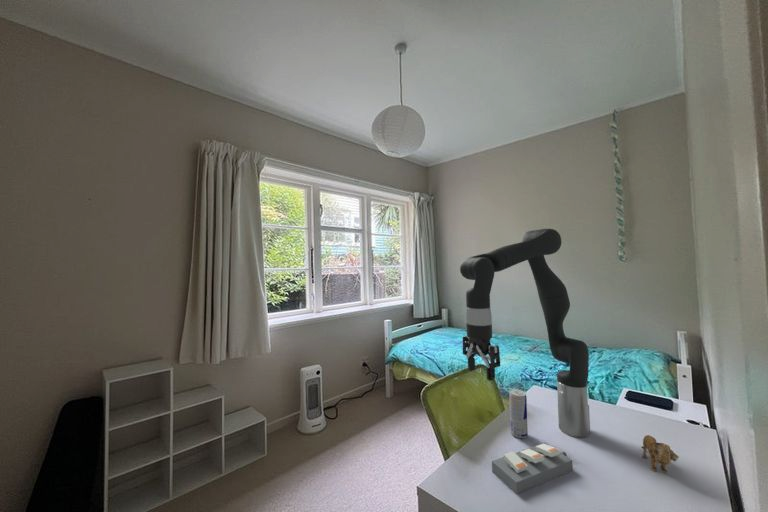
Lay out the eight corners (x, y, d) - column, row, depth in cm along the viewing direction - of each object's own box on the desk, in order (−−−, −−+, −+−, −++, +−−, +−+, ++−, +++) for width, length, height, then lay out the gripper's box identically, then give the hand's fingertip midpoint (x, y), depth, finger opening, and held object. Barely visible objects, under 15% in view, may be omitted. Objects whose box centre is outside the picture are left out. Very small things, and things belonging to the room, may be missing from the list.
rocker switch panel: (551, 449, 93) (551, 440, 94) (579, 467, 85) (579, 457, 85) (492, 471, 84) (491, 461, 84) (516, 493, 76) (516, 482, 76)
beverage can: (529, 440, 99) (528, 396, 99) (512, 438, 100) (511, 395, 100) (525, 430, 104) (523, 389, 105) (508, 429, 105) (507, 388, 106)
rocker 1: (512, 456, 85) (513, 450, 85) (526, 471, 80) (527, 465, 80) (503, 459, 84) (504, 453, 83) (517, 475, 79) (518, 468, 79)
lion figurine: (682, 483, 78) (681, 450, 79) (658, 479, 80) (657, 447, 80) (650, 450, 92) (649, 422, 93) (631, 447, 94) (629, 419, 94)
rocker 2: (545, 450, 89) (543, 442, 90) (560, 456, 85) (558, 448, 85) (536, 453, 88) (535, 445, 88) (551, 459, 83) (550, 452, 84)
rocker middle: (530, 455, 87) (528, 448, 87) (544, 462, 82) (543, 454, 83) (521, 458, 86) (519, 451, 86) (535, 466, 81) (534, 458, 81)
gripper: (505, 325, 83) (508, 381, 82) (473, 317, 96) (475, 365, 96) (485, 327, 80) (487, 386, 80) (454, 319, 93) (456, 369, 93)
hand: (480, 374), depth 88 cm, fingers open, 8 cm apart
